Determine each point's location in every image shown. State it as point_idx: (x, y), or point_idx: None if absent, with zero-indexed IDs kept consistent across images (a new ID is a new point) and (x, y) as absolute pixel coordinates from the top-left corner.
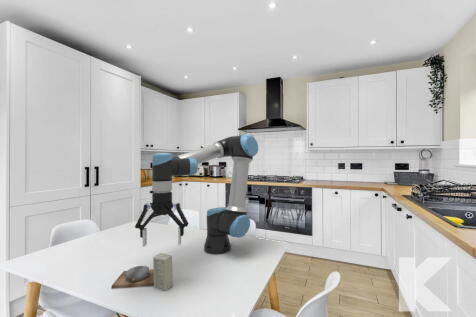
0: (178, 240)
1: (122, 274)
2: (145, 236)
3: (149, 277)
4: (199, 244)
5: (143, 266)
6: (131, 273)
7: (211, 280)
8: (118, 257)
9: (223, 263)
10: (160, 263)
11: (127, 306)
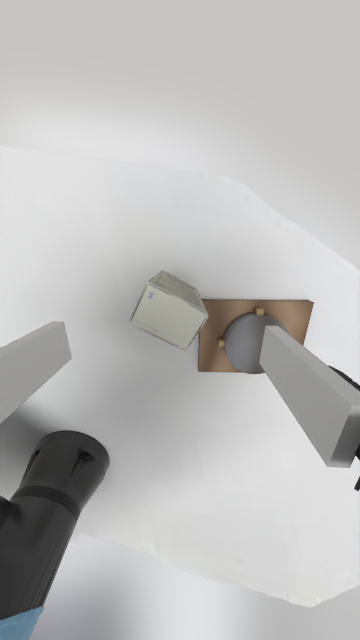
0: (40, 334)
1: None
2: (292, 375)
3: (218, 331)
4: (126, 483)
5: (246, 369)
6: None
7: (53, 307)
8: None
9: None
10: (172, 290)
11: (247, 207)
